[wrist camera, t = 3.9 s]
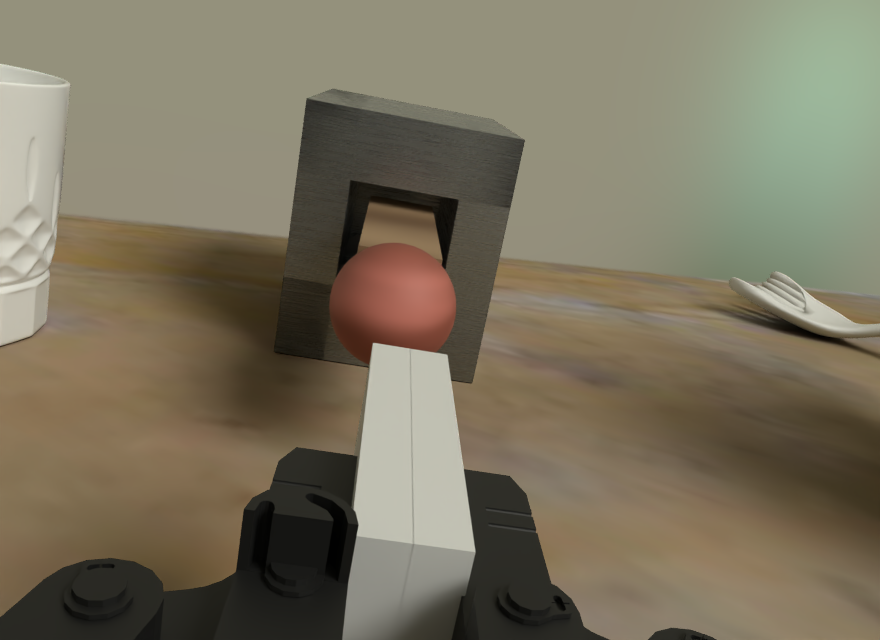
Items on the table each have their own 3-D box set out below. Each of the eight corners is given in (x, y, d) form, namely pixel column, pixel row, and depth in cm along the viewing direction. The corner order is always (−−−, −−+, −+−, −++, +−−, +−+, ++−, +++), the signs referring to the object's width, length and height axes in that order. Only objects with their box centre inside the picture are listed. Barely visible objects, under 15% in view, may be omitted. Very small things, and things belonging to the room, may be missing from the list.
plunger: (446, 399, 23) (472, 272, 22) (314, 378, 23) (333, 248, 22) (431, 279, 36) (447, 195, 35) (346, 265, 36) (359, 179, 35)
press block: (472, 383, 35) (524, 140, 32) (273, 352, 34) (306, 98, 31) (455, 304, 47) (493, 119, 43) (306, 279, 46) (332, 88, 42)
